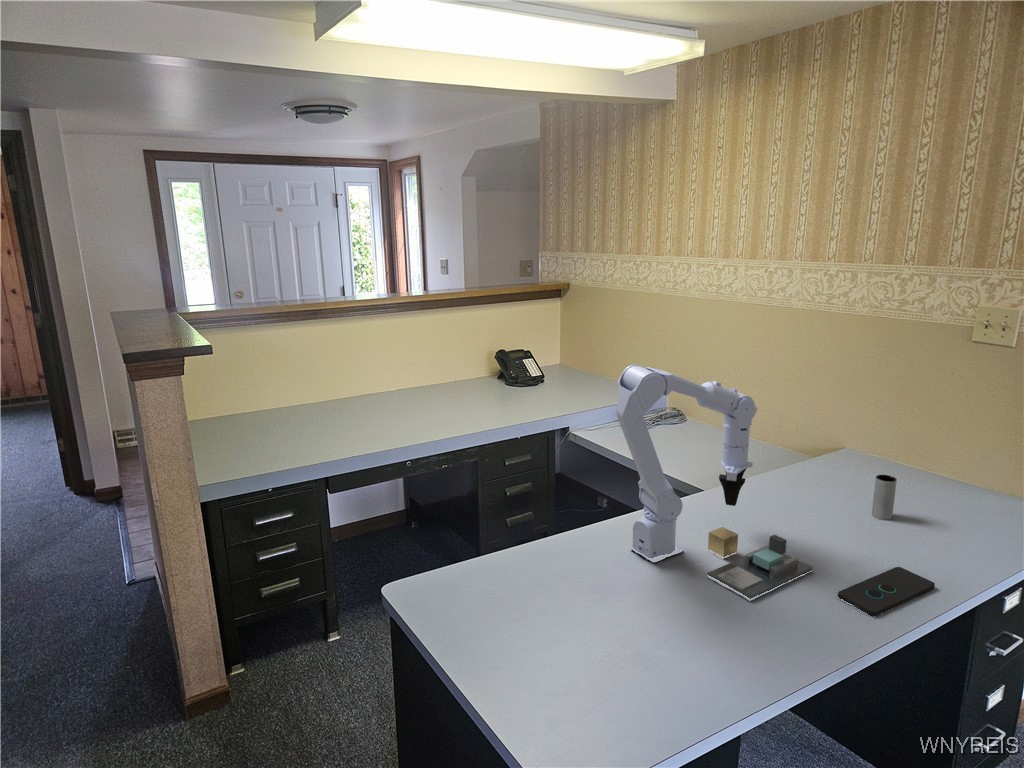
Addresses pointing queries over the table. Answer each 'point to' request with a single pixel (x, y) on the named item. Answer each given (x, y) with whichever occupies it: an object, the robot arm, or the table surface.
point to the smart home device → (886, 591)
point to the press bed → (758, 574)
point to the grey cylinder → (884, 497)
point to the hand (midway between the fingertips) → (732, 498)
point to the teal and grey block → (771, 553)
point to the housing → (723, 541)
